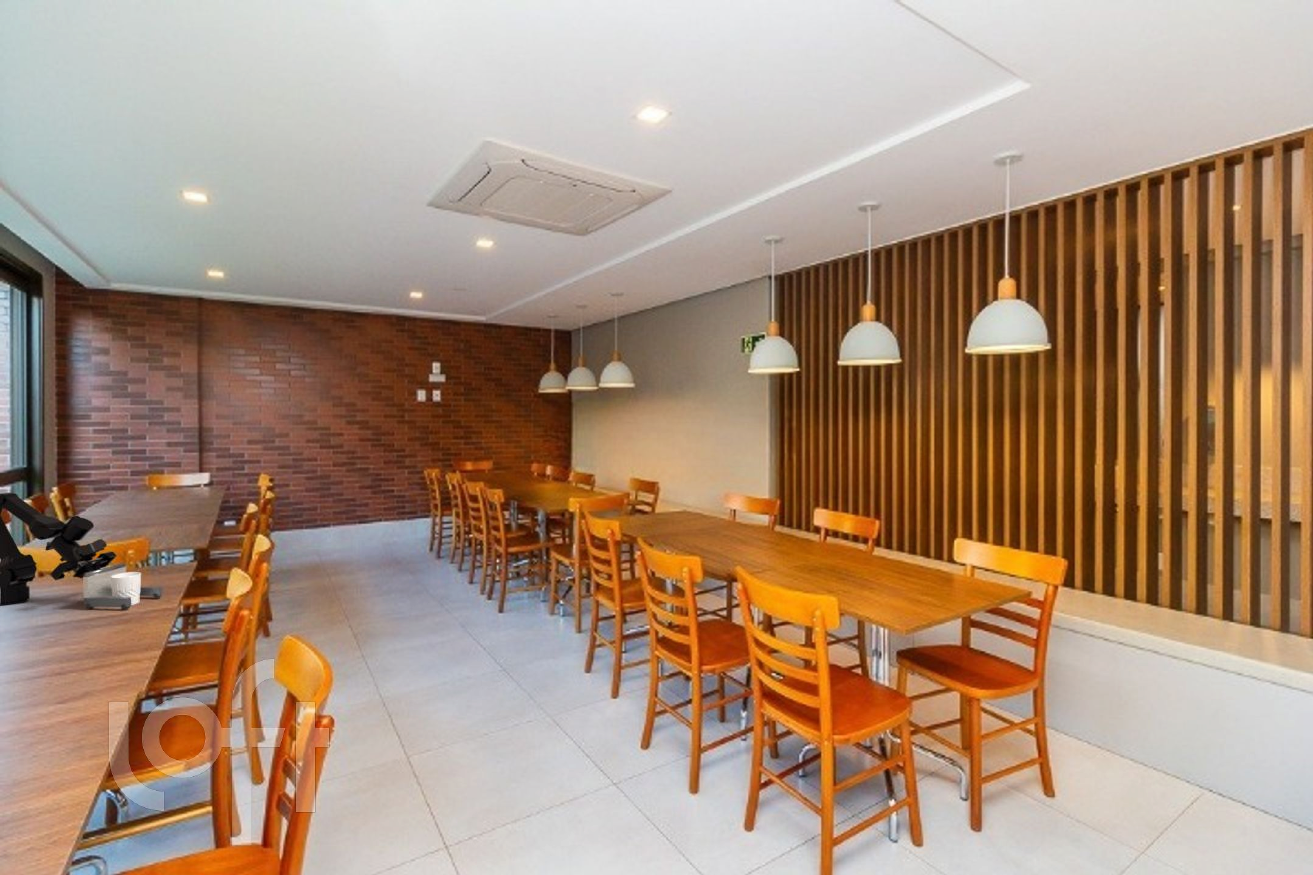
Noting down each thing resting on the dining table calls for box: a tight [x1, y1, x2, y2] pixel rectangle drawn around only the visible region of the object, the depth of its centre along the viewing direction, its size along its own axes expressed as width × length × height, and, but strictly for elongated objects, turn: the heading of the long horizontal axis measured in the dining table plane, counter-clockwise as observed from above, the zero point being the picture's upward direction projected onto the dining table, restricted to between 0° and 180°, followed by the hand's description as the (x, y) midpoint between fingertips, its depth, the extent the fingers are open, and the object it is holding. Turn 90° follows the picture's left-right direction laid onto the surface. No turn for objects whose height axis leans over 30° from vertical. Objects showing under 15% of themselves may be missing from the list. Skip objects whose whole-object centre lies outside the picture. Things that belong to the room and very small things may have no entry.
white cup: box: [111, 571, 142, 606], centre depth 211 cm, size 8×8×10 cm
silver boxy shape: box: [82, 562, 164, 611], centre depth 211 cm, size 15×15×12 cm
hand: (102, 582), depth 211 cm, fingers closed, pressing on silver boxy shape
